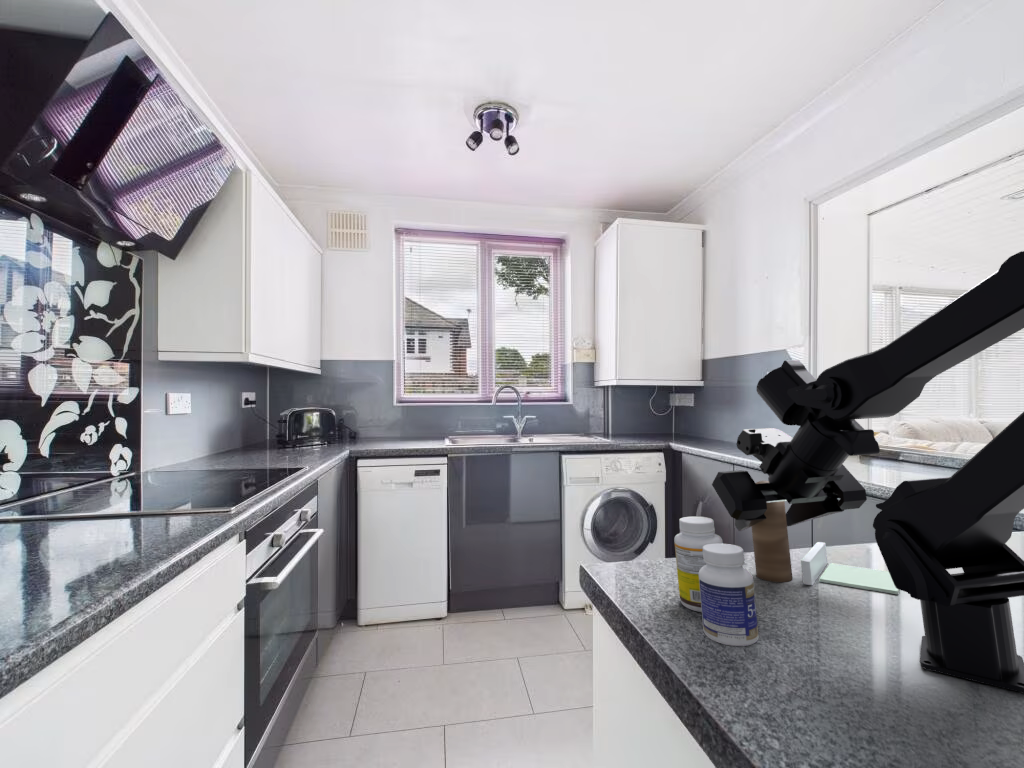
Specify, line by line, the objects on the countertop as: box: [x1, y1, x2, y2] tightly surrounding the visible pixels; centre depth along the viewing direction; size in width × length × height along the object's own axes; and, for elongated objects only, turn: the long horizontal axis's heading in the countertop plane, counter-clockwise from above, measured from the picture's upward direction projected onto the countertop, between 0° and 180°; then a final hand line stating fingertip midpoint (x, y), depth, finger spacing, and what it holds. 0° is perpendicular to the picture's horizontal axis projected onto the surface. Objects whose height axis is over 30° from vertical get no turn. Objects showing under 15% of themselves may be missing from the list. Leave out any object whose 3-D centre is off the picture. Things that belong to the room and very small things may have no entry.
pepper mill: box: [751, 480, 794, 583], centre depth 64 cm, size 4×4×13 cm
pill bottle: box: [699, 543, 760, 647], centre depth 48 cm, size 5×5×9 cm
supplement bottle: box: [673, 516, 724, 613], centre depth 56 cm, size 6×6×10 cm
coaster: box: [819, 562, 900, 595], centre depth 61 cm, size 8×8×1 cm
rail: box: [800, 541, 829, 586], centre depth 64 cm, size 11×1×3 cm, turn 137°
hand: (762, 525), depth 65 cm, fingers open, 7 cm apart
